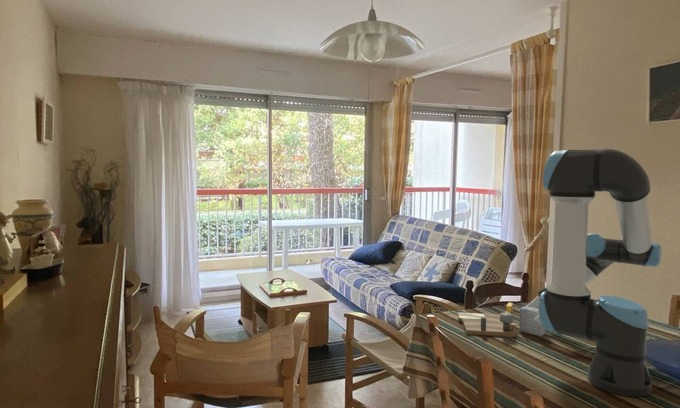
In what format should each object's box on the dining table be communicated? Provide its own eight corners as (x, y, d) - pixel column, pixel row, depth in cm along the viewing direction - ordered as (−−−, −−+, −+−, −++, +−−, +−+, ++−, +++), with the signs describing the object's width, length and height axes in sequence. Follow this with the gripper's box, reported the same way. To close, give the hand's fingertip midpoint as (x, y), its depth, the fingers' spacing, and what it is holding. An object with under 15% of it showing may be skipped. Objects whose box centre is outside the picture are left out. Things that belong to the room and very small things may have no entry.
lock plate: (515, 337, 159) (516, 320, 159) (463, 334, 162) (463, 317, 161) (503, 318, 179) (504, 304, 178) (457, 316, 181) (457, 301, 181)
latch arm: (511, 331, 158) (512, 312, 158) (498, 329, 160) (499, 310, 160) (516, 321, 169) (516, 303, 168) (503, 319, 171) (504, 301, 171)
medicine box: (545, 333, 163) (546, 310, 162) (541, 337, 160) (542, 313, 159) (523, 328, 168) (524, 305, 167) (518, 331, 165) (519, 308, 164)
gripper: (600, 293, 148) (550, 335, 152) (573, 276, 173) (531, 312, 176) (583, 277, 148) (534, 319, 152) (559, 262, 173) (517, 298, 177)
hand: (532, 315), depth 164 cm, fingers open, 13 cm apart
